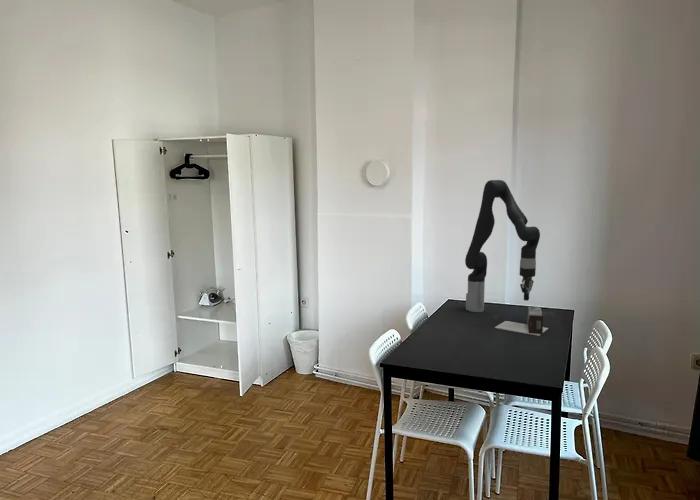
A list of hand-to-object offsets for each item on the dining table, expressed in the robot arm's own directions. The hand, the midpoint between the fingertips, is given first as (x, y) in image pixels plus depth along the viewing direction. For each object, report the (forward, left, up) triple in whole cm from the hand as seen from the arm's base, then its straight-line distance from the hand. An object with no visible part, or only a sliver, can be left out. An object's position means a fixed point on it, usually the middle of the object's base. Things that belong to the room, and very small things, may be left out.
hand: (526, 300), depth 265 cm
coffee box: (+3, +4, -8) cm, 10 cm away
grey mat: (0, -6, -13) cm, 14 cm away
